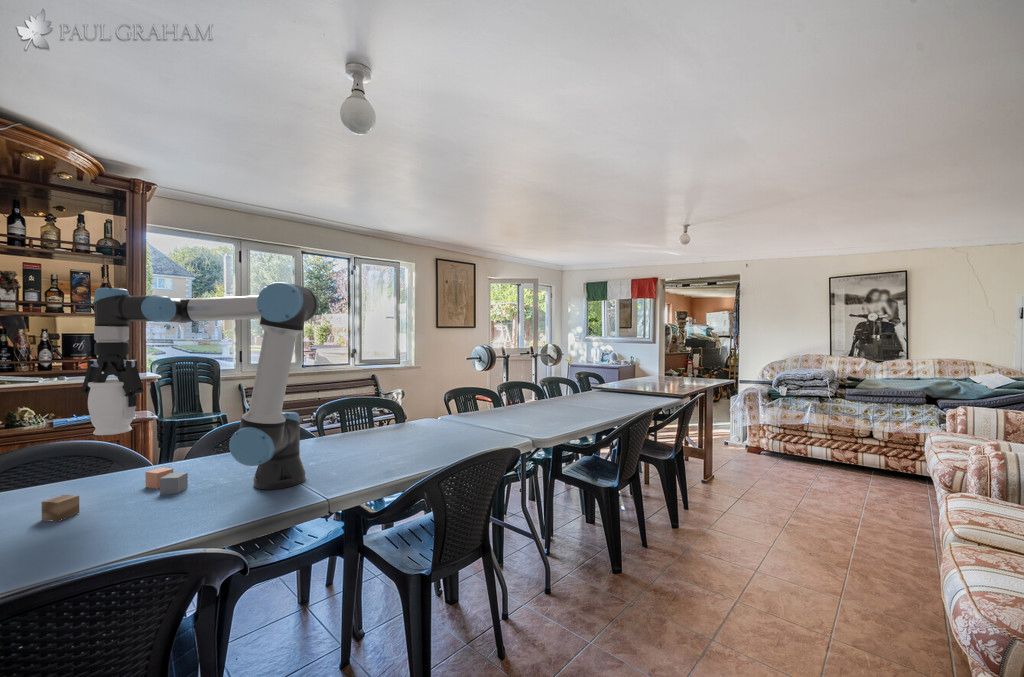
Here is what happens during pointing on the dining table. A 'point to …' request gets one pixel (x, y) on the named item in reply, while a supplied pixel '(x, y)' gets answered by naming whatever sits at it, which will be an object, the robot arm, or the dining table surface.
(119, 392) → the jar
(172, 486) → the grey block
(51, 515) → the walnut block
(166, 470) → the terracotta block
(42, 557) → the dining table surface
